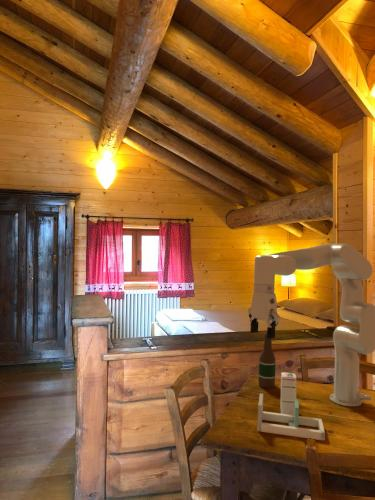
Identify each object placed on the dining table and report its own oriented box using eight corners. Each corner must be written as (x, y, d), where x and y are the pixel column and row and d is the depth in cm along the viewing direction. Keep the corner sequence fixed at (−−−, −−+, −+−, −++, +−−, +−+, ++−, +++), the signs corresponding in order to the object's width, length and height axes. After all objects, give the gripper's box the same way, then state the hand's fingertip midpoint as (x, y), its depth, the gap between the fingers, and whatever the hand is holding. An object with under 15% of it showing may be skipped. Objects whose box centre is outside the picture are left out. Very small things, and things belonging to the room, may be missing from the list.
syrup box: (296, 416, 145) (297, 377, 145) (280, 414, 146) (281, 376, 146) (295, 409, 150) (296, 373, 150) (279, 408, 152) (280, 371, 151)
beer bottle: (262, 389, 172) (264, 335, 172) (254, 382, 179) (256, 331, 179) (278, 387, 174) (279, 335, 174) (269, 381, 181) (271, 331, 181)
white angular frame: (321, 425, 137) (322, 400, 137) (324, 440, 127) (325, 413, 126) (259, 417, 142) (259, 393, 142) (257, 431, 132) (258, 405, 132)
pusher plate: (297, 424, 137) (298, 399, 137) (298, 434, 130) (299, 408, 130) (288, 423, 138) (289, 398, 138) (289, 433, 131) (289, 406, 131)
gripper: (288, 291, 135) (286, 339, 135) (257, 286, 150) (256, 329, 150) (271, 291, 131) (269, 341, 131) (241, 286, 147) (240, 331, 147)
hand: (262, 335), depth 141 cm, fingers open, 9 cm apart
